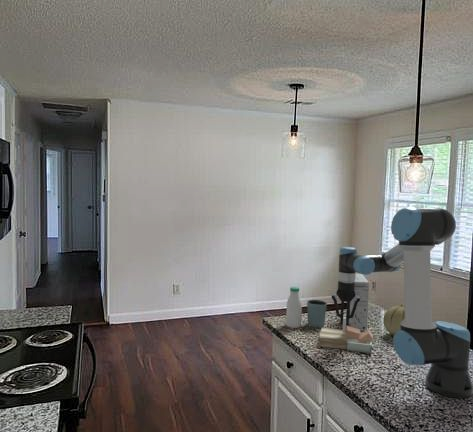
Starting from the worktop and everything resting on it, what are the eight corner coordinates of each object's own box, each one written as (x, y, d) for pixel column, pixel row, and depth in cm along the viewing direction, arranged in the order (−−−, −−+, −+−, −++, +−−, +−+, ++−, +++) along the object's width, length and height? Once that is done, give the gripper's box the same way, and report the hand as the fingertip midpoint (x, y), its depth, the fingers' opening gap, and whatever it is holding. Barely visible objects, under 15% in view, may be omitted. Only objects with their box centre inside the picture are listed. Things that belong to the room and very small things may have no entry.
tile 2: (357, 340, 187) (361, 346, 186) (368, 333, 185) (373, 338, 185) (357, 336, 192) (361, 341, 192) (368, 328, 191) (372, 334, 190)
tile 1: (358, 340, 186) (359, 333, 186) (344, 336, 188) (346, 329, 188) (358, 335, 192) (360, 329, 192) (345, 331, 194) (346, 325, 193)
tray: (371, 353, 180) (371, 345, 180) (346, 350, 183) (347, 342, 183) (370, 340, 196) (370, 333, 195) (347, 338, 198) (348, 330, 198)
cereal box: (346, 317, 231) (348, 273, 229) (360, 318, 230) (362, 273, 228) (351, 330, 209) (353, 281, 208) (367, 331, 208) (369, 282, 207)
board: (346, 349, 184) (346, 340, 184) (319, 345, 187) (319, 337, 187) (347, 338, 197) (347, 330, 197) (321, 335, 201) (321, 327, 201)
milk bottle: (300, 329, 210) (302, 289, 209) (285, 327, 212) (286, 288, 210) (301, 324, 218) (302, 286, 216) (286, 323, 219) (287, 285, 218)
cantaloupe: (383, 339, 197) (385, 308, 196) (381, 329, 211) (383, 300, 210) (417, 343, 193) (419, 311, 192) (413, 333, 207) (414, 303, 206)
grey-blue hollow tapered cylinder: (303, 322, 221) (303, 300, 220) (320, 321, 224) (320, 299, 223) (312, 328, 211) (312, 305, 210) (329, 327, 214) (330, 304, 213)
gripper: (361, 280, 191) (358, 331, 193) (332, 278, 195) (330, 327, 196) (361, 284, 184) (358, 336, 185) (331, 281, 187) (329, 332, 189)
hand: (344, 331), depth 191 cm, fingers closed
